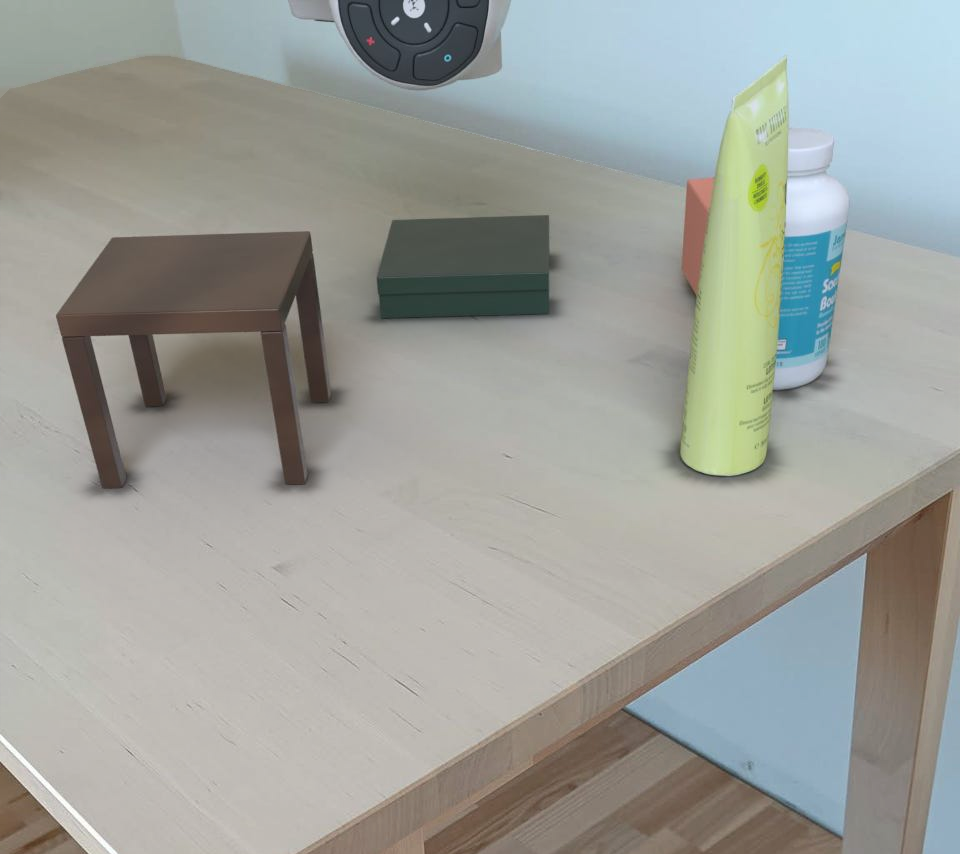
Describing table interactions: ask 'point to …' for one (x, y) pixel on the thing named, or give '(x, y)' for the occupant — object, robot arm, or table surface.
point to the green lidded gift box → (465, 267)
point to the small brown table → (196, 322)
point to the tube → (740, 286)
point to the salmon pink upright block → (695, 227)
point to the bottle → (488, 62)
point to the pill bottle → (809, 258)
